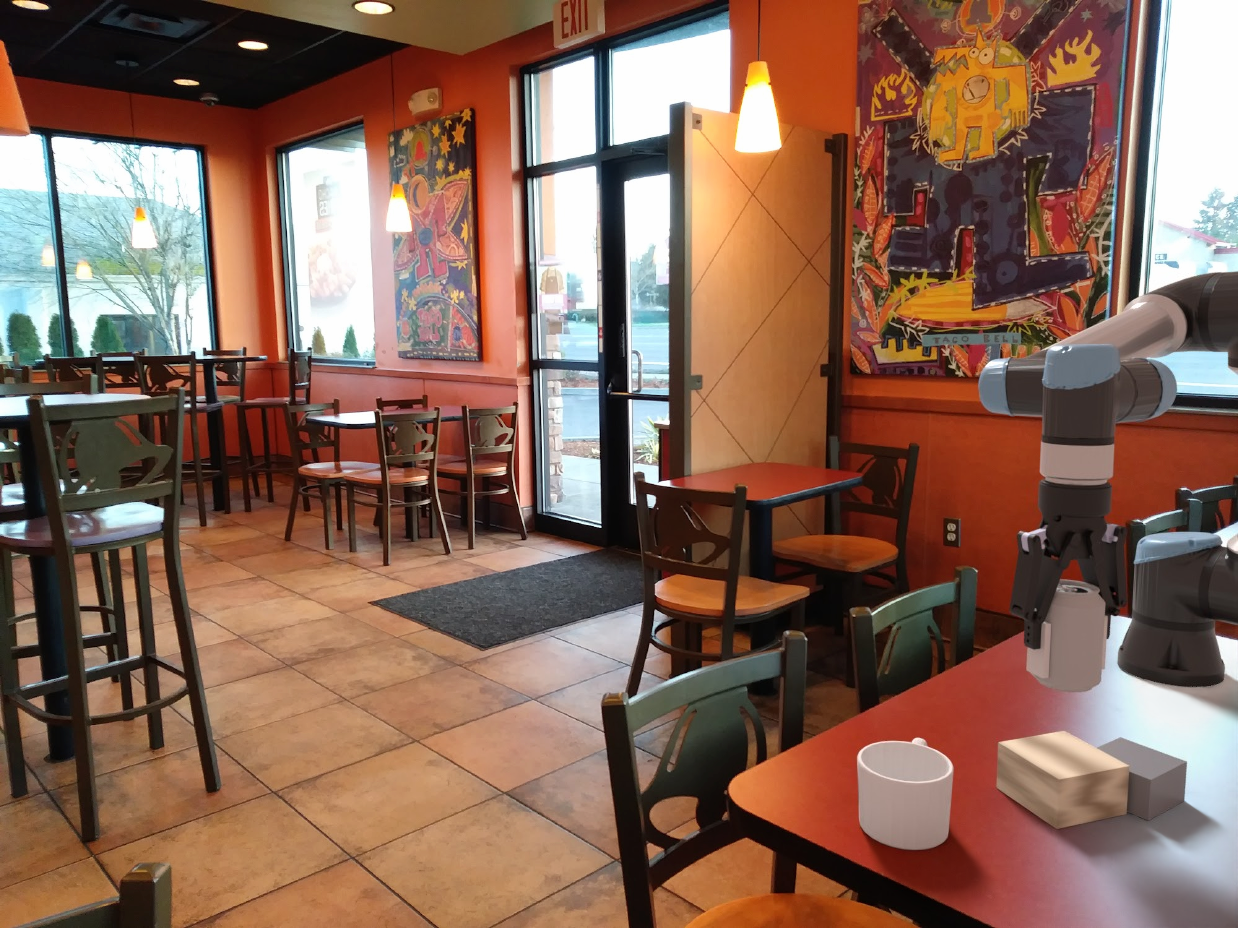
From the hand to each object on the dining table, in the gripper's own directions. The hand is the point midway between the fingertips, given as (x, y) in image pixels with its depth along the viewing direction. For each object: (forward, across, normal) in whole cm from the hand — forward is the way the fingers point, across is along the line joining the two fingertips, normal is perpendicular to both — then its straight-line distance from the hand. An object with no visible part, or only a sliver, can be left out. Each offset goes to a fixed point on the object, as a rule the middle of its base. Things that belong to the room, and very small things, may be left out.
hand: (1065, 669), depth 106 cm
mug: (+17, +20, -2) cm, 26 cm away
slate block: (+17, -9, +2) cm, 19 cm away
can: (+2, 0, 0) cm, 2 cm away
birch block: (+17, 0, 0) cm, 17 cm away
